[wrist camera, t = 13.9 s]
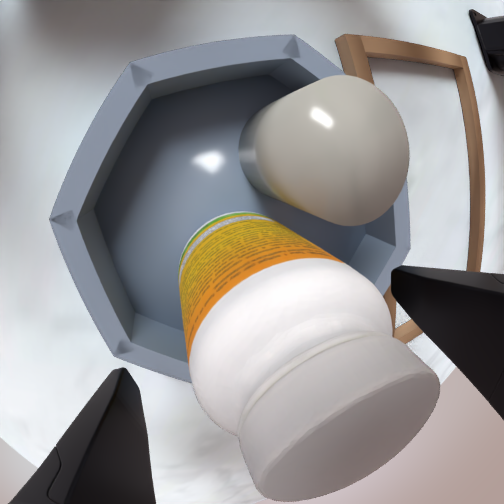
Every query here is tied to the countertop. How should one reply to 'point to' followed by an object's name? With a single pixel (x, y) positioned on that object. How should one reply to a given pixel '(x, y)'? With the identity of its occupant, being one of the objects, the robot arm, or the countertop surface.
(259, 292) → the supplement bottle
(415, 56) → the wooden frame
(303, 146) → the white rounded cylinder
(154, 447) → the countertop surface
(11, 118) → the countertop surface
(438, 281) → the robot arm
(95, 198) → the bowl
